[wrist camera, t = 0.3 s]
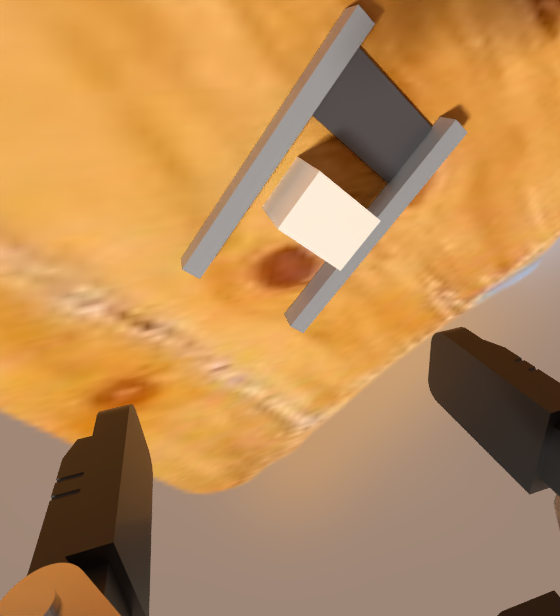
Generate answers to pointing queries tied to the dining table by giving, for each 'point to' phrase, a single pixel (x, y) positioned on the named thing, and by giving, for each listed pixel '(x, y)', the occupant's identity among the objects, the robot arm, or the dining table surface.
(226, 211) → the channel
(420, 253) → the dining table surface
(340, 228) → the block
